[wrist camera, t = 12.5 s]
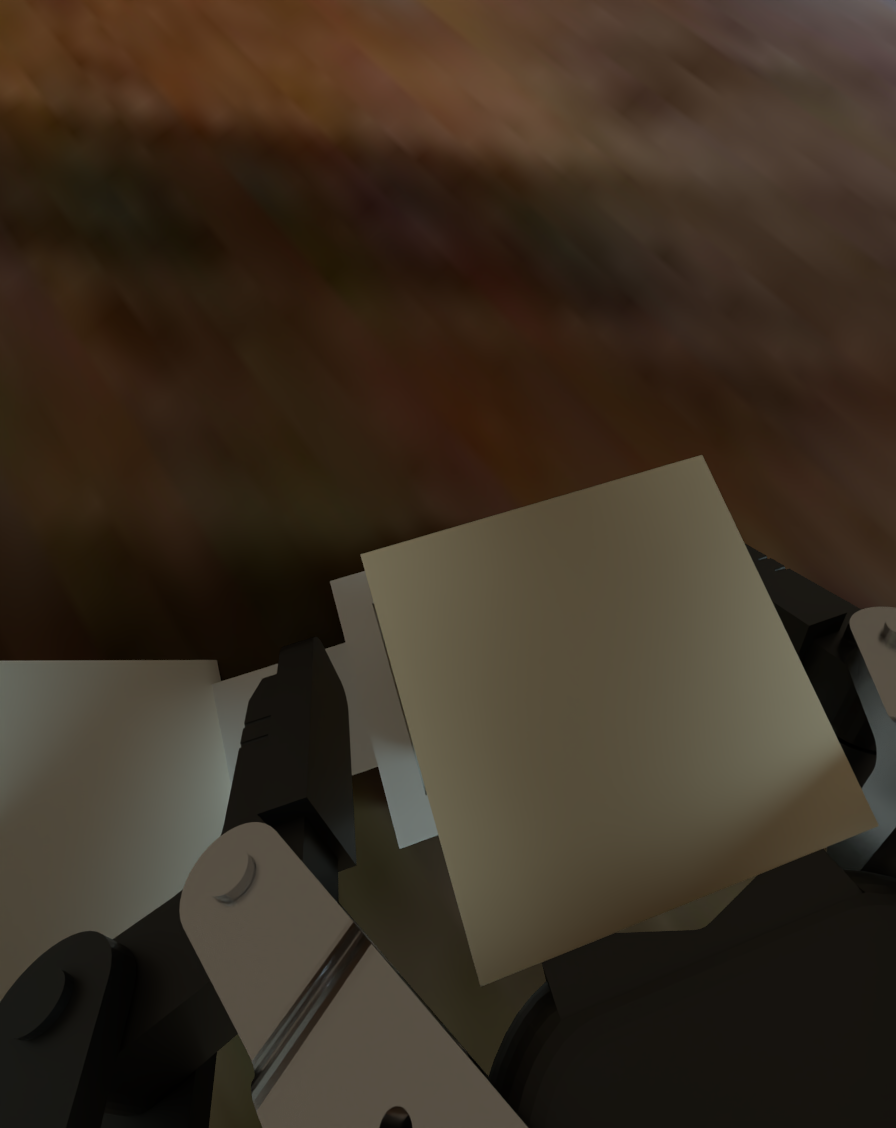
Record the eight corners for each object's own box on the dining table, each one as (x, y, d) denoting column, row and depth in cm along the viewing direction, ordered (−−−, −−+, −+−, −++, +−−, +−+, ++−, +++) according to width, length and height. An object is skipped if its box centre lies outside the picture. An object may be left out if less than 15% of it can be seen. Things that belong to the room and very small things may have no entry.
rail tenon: (509, 602, 19) (701, 454, 5) (542, 700, 18) (878, 825, 4) (414, 631, 19) (360, 554, 5) (444, 733, 18) (480, 987, 4)
